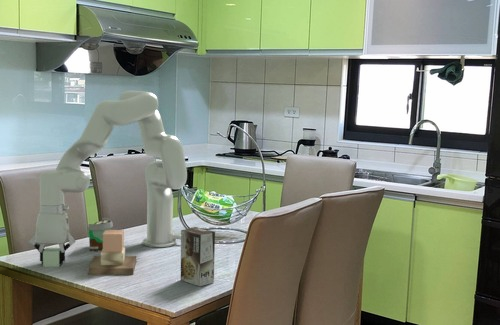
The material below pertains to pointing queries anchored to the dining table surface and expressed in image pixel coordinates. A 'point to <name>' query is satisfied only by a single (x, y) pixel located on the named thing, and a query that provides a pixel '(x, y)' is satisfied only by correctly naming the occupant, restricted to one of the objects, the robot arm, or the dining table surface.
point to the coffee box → (197, 256)
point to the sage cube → (51, 257)
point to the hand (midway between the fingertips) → (52, 262)
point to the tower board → (112, 266)
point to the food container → (98, 233)
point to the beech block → (112, 258)
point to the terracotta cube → (113, 240)
